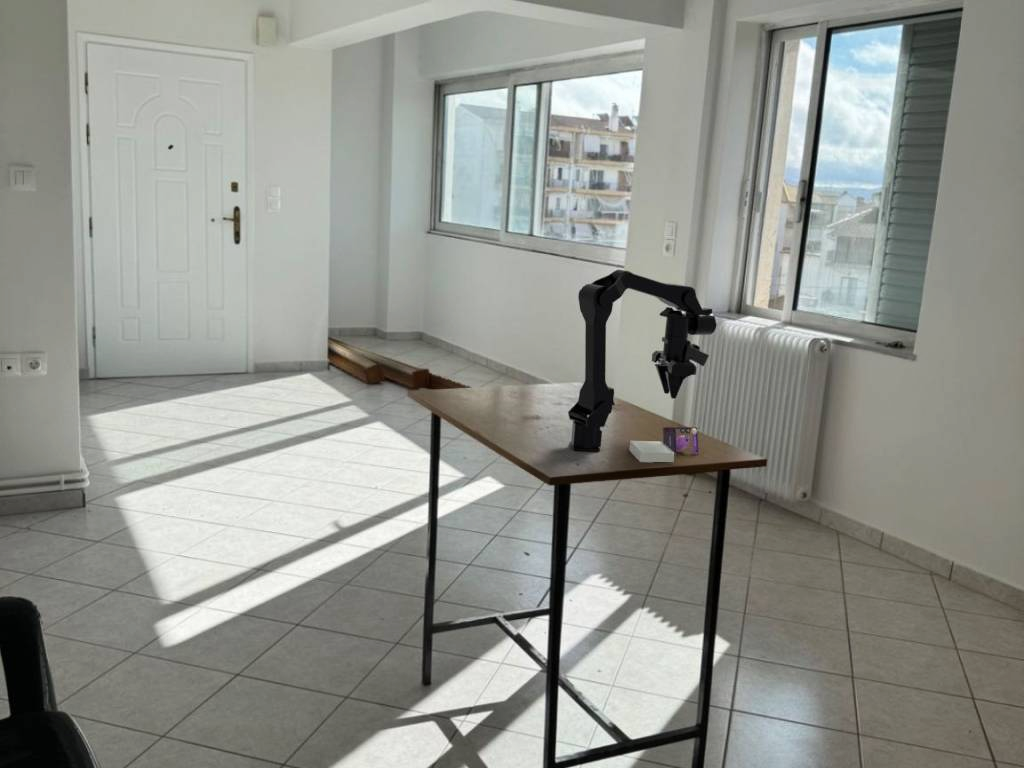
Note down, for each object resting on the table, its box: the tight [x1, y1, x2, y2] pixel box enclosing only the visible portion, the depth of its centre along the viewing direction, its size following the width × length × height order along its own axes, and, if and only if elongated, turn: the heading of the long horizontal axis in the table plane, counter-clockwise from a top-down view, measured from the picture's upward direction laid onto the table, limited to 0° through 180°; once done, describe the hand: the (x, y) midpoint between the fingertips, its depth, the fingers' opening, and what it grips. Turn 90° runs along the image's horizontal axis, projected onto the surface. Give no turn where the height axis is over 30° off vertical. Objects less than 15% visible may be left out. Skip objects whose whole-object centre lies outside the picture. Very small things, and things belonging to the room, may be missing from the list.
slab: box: [628, 440, 675, 463], centre depth 226 cm, size 8×10×3 cm
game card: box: [662, 426, 699, 454], centre depth 232 cm, size 7×5×9 cm
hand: (669, 395), depth 239 cm, fingers open, 6 cm apart
